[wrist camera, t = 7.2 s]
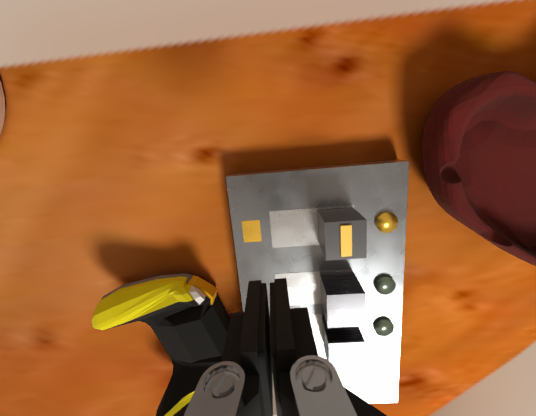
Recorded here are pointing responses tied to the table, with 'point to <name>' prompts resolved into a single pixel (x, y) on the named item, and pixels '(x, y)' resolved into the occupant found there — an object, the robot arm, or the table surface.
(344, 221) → the toggle
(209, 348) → the gaming controller
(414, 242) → the table surface
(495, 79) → the ashtray
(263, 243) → the panel
